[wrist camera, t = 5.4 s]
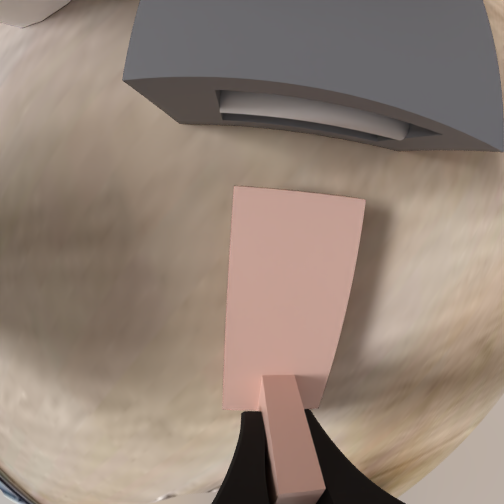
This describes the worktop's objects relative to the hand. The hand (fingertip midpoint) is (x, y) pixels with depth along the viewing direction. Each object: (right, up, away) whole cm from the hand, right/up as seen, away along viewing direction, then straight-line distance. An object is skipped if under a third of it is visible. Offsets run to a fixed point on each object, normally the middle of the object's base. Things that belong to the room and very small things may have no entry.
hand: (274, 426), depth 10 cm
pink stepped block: (0, +3, 0) cm, 4 cm away
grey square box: (+1, +15, -2) cm, 15 cm away
